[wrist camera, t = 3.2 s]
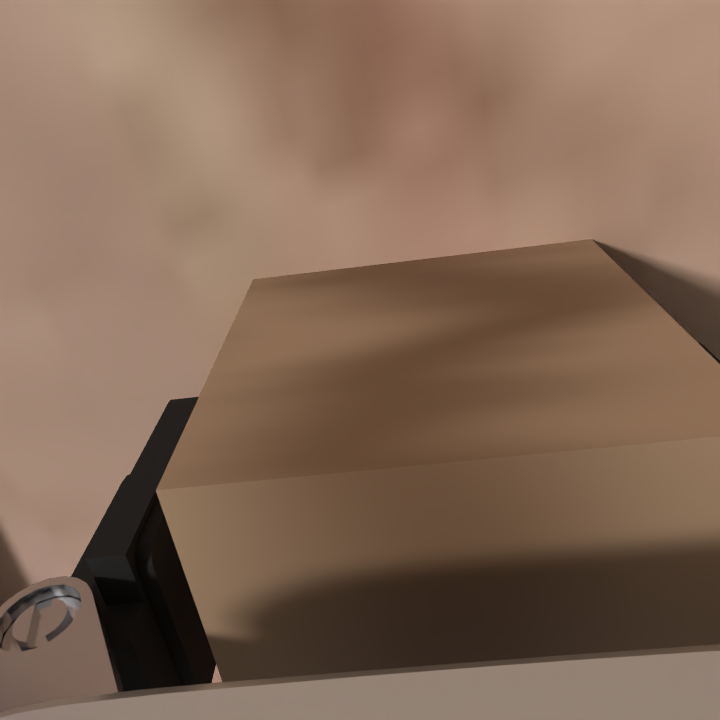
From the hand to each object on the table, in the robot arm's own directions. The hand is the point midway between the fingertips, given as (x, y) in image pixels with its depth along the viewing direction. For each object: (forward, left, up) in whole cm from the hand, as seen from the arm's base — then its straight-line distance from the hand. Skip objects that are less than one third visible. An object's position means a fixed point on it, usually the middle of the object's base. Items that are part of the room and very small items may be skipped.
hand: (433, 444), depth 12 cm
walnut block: (0, 0, -1) cm, 1 cm away
